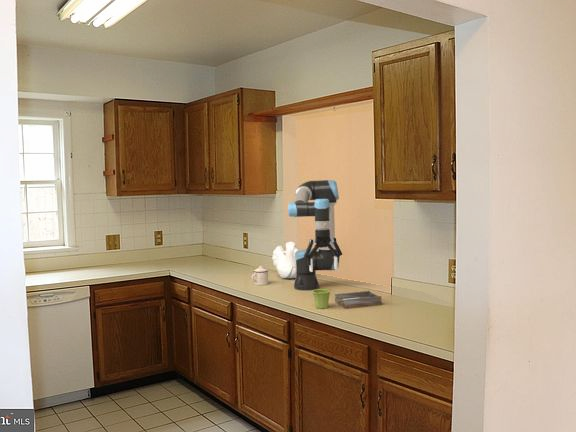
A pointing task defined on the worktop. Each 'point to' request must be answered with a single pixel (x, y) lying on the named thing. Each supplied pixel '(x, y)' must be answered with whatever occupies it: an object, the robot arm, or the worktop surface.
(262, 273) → the teacup with lid
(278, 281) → the worktop surface
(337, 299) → the dock
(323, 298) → the plant pot
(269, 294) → the worktop surface
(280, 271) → the decorative rooster
